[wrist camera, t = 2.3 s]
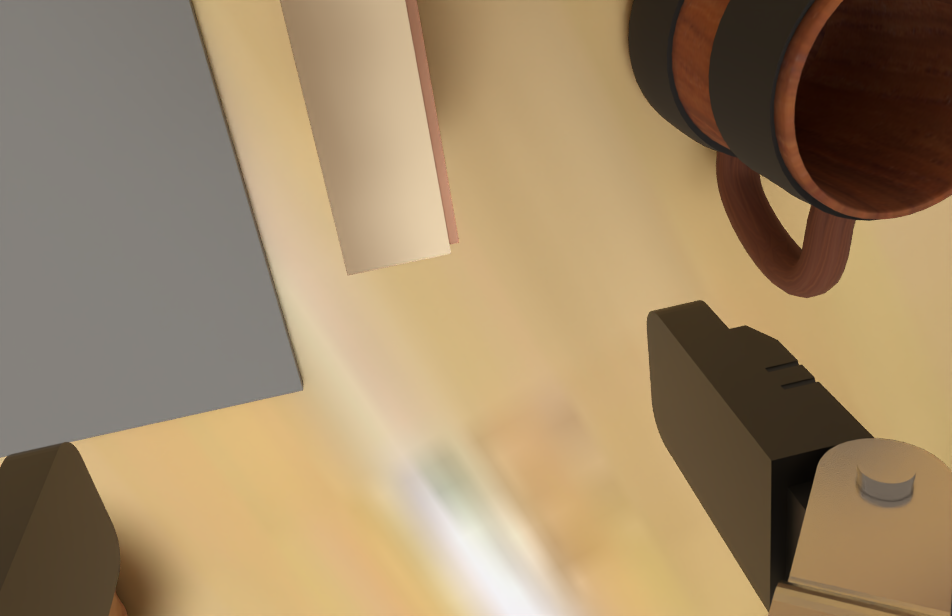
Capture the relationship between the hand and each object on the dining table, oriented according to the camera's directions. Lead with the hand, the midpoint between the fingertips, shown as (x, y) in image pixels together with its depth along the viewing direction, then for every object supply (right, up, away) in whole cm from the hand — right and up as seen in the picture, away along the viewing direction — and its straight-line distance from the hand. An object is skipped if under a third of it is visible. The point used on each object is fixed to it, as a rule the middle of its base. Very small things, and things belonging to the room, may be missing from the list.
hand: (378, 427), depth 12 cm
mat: (-15, +5, +20) cm, 26 cm away
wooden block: (-3, +11, +20) cm, 23 cm away
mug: (+11, +11, +22) cm, 27 cm away
